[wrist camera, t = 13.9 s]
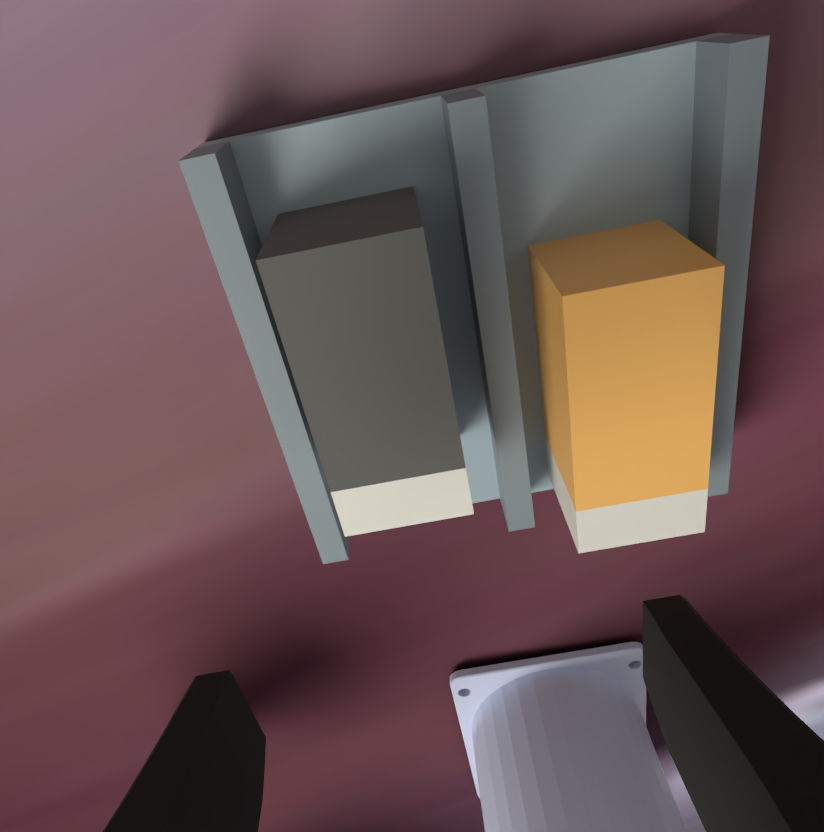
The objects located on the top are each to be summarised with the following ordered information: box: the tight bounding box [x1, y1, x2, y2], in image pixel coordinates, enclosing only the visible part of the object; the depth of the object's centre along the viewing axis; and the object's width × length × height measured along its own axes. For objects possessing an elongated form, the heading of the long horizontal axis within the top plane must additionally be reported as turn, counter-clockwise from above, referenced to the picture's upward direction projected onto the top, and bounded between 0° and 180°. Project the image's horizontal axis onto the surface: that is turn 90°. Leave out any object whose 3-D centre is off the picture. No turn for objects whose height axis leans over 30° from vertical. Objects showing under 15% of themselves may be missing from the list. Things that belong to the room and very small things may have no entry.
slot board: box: [179, 33, 770, 564], centre depth 18 cm, size 12×12×2 cm
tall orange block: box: [528, 219, 725, 553], centre depth 17 cm, size 8×3×4 cm, turn 10°
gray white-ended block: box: [256, 186, 474, 537], centre depth 16 cm, size 8×3×4 cm, turn 11°
